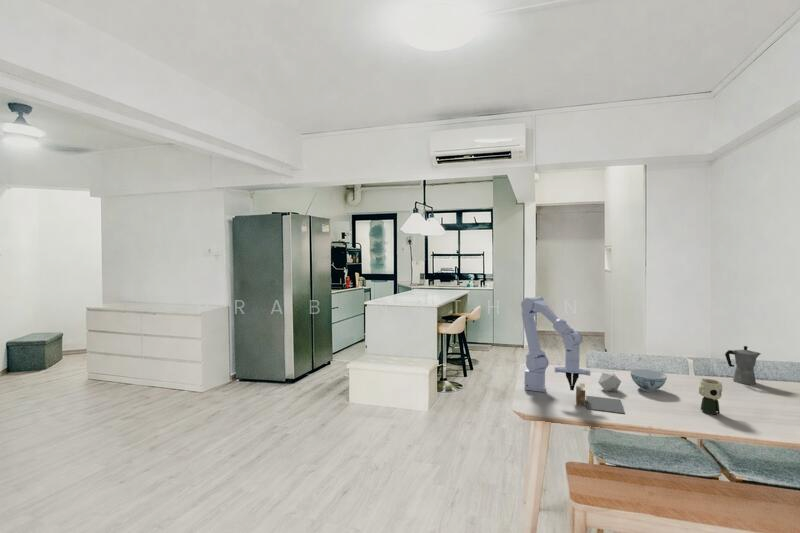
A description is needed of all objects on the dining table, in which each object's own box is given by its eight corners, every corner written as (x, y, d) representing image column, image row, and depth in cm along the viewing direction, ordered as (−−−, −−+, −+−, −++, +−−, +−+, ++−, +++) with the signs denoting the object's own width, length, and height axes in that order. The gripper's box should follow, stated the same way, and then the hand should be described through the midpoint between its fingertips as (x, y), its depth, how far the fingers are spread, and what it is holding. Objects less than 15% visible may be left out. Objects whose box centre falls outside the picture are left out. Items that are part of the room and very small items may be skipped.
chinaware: (646, 396, 193) (647, 379, 193) (622, 385, 208) (623, 370, 207) (674, 393, 196) (675, 377, 196) (649, 383, 211) (649, 368, 211)
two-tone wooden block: (576, 405, 184) (576, 389, 183) (576, 398, 192) (576, 382, 192) (585, 406, 183) (585, 390, 182) (584, 399, 191) (584, 383, 190)
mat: (587, 409, 179) (587, 408, 179) (586, 396, 194) (586, 395, 194) (624, 413, 174) (624, 412, 174) (620, 400, 189) (620, 399, 189)
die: (618, 396, 196) (626, 376, 198) (600, 385, 197) (609, 366, 200) (610, 396, 204) (617, 378, 206) (592, 386, 205) (600, 368, 208)
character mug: (706, 417, 170) (707, 384, 169) (691, 410, 177) (692, 379, 176) (729, 414, 172) (730, 383, 171) (713, 408, 179) (714, 377, 178)
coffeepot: (753, 379, 215) (754, 344, 214) (765, 385, 206) (767, 348, 205) (719, 378, 218) (720, 343, 217) (729, 384, 209) (731, 347, 208)
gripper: (554, 360, 187) (554, 390, 187) (590, 363, 181) (590, 394, 182) (555, 356, 193) (554, 385, 194) (590, 359, 188) (589, 389, 188)
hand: (572, 389), depth 188 cm, fingers closed
